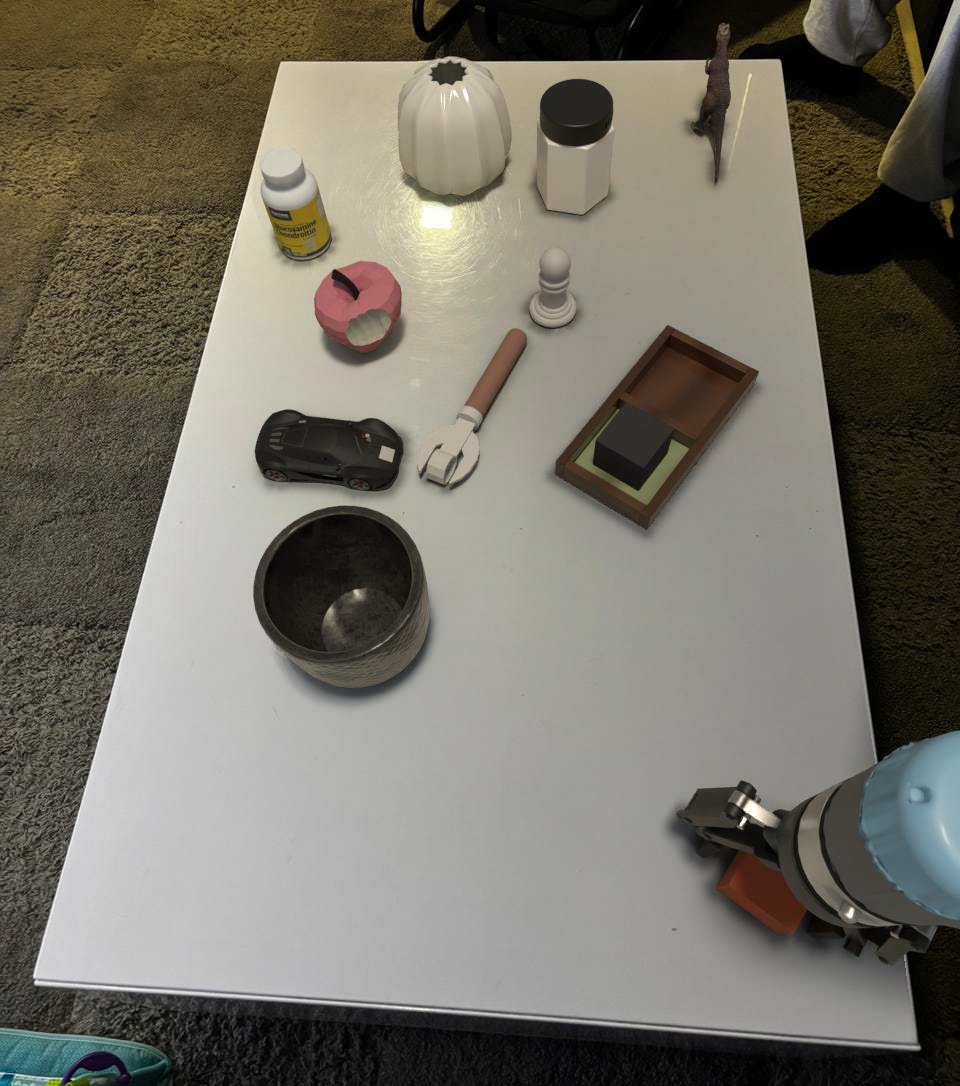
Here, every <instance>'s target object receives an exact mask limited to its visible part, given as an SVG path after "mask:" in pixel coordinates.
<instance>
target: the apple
mask: <svg viewBox="0 0 960 1086" xmlns="http://www.w3.org/2000/svg"><path fill="white" fill-rule="evenodd" d="M402 293H403V292H402V287H401V285H400V283H399V282H398V280H397V279H396V278H395V276H394V275H393V273H392V272H391V270H389V268H388V267H387V266H384V265H383V264H381V263H379V262H376V261H370V260H369V261H368V260H358V261H356V262H354V263H350V264H348V265H345V266H342V267H339V268H338V267H337V268H333V269H332V270H331V271H330V272H329V273H328V274H327V275H326V276H325V277H324V278H323V279H322V280H321V282H320V284H319V286H318V287H317V288H316V291H315V293H314V297H313V303H314V306H313V307H314V316H315V319H316V321H317V323H318V325H319V326H320V327H321V329H322V330H323V332H324V333H325V334H326V335H327V336H328V337H329V338H330V339H332V340H334V341H336V342H338V343H341V344H343V345H344V346H346V347H347V348H349V349H352V350H354V351H356V352H358V353H360V354H364V353H368V352H373V351H376V350H377V349H378V347H379V346H380V345H381V343H383V342H384V341H385V340H386V339H387V338H388V336H389V334H390V332H391V331H392V329H393V327H394V326H395V325H396V323H397V321H398V320H399V317H400V316H401V314H402V305H403V304H402V301H403V300H402V299H403V298H402V297H403V296H402V295H403V294H402Z"/></svg>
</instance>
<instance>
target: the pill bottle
mask: <svg viewBox="0 0 960 1086" xmlns="http://www.w3.org/2000/svg"><path fill="white" fill-rule="evenodd" d="M259 169H260V172H261V174H262V178H263V179H262V181H261V184H260V189H259V190H260V195H261V199H262V202H263V205H264V208H265V210H266V213H267V216H268V218H269V222H270V225H271V227H272V229H273V234H274V236H275V239H276V241H277V243H278V246H279V248H280V250H281V251H282V253H284V255H286V256H288V257H289V258H291V259H295V260H299V261H300V260H303V261H305V260H310V259H314V258H316V257H318V256H320V255H322V254H323V253H324V252H325V251H326V250H327V249H328V247H329V246H330V244H331V241H332V232H331V228H330V224H329V219H328V217H327V214H326V213H327V212H326V209H325V206H324V203H323V199H322V195H321V191H320V188H319V185H318V181H317V179H316V177H315V175H314V173H312V172H311V171H310V170H309V169H308V168H306V167H305V164H304V161H303V157H302V155H301V153H300V152H299V151H298V150H296V149H295V148H292V147H286V146H285V147H283V146H282V147H281V146H280V147H276V148H273V149H271V150H269V151H267V152H266V153H265V154H264V155H263V156H262V157H261V159H260V162H259Z"/></svg>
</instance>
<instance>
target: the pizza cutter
mask: <svg viewBox="0 0 960 1086" xmlns="http://www.w3.org/2000/svg"><path fill="white" fill-rule="evenodd" d="M527 341H528V336H527V334H526V333H525V332H524V330H522V329H521V328H515V327H514V328H511V329H510V330H509V331H507V333H506V335H505V337H504V338H503V340H502V341H501V343H500V345H499V347H498V348H497V350H496V351H495V354H494V355H493V356H492V359H491V360H490V361H489V363H488V365H487V366H486V368H485V370H484V372H483V373H482V375H481V377H480V378H479V380H478V381H477V383H476V385H475V387H474V388H473V390H472V392H471V393H470V395H469V397H468V398H467V399H466V401H465V403H464V405H463V406H461V408H460V409H459V411H458V412H457V414H456V417H455V419H456V421H455V423H454V424H448V425H443V426H442V427H439V428H437V429H435V430H433V431H432V432H431V433H430V434H429V435H428V436H426V438H425V439H424V440H423V442H422V443H421V446H420V448H419V450H418V454H417V458H416V459H417V461H416V463H417V468H418V472H419V474H421V473H422V471H423V470H424V468H425V467H426V471H425V473H426V479H428V480H431V481H434V482H436V483H438V484H441V485H444V486H447V485H449V486H452V485H454V484H456V483H457V482H459V481H462V480H463V479H465V478H466V476H468V475H469V474H471V471H472V470H473V468H474V467H475V465H476V464H477V463H478V460H479V456H480V452H481V449H480V448H481V447H480V442H479V438H478V437H477V436H476V434H475V433H474V431H476V430H478V429H479V427H480V425H481V424H482V422H483V418H484V416H485V414H486V413H487V411H488V409H489V407H490V406H491V404H492V402H493V400H494V399H495V397H496V395H497V394H498V392H499V391H500V389H501V387H502V385H503V383H504V382H505V380H506V378H507V377H508V375H509V373H510V372H511V371H512V369H513V366H514V365H515V363H516V361H517V360H518V358H519V356H520V355H521V352H523V349H524V348H525V346H526V344H527ZM440 446H441V447H440ZM438 447H440V448H438ZM461 452H462V456H463V457H462V459H461V461H460V463H459V464H458V457H459V454H460V453H461ZM457 465H458V466H457Z"/></svg>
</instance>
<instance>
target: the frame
mask: <svg viewBox="0 0 960 1086" xmlns="http://www.w3.org/2000/svg"><path fill="white" fill-rule="evenodd" d="M759 374H760V370H758V369H756V368H753V367H751V366H749V365H747V364H745V363H743V362H741V361H740V360H737V359H736V358H734V357H732V356H730V355H727V354H726V353H724V352H722V351H720V350H718V349H716V348H714V347H712V346H710V345H708V344H706V343H704V342H702V341H701V340H698V339H696V338H694V337H693V336H691V335H689V334H686V333H685V332H683V331H681V330H679V329H676V328H675V327H673V326H671V325H669V324H667V325H665V326H664V328H663V329H662V331H661V332H660V333H659V334H658V336H657V337H656V338H655V339H654V341H653V342H652V343H651V344H650V345H649V347H648V348H647V349H646V350H645V351H644V352H643V354H642V355H641V356H640V358H638V360H637V361H636V362H635V364H634V365H633V366H632V367H631V369H630V370H629V371H628V372H627V373H626V375H625V376H624V377H623V378H622V379H621V380H620V382H619V383H618V384H617V385H616V387H615V388H614V389H613V390H612V392H610V394H609V396H608V397H607V398H606V399H605V401H604V402H602V404H601V405H600V406H599V407H598V409H597V410H596V411H595V413H594V414H593V415H592V416H591V417H590V418H589V419H588V421H587V422H586V423H585V425H584V426H583V427H582V429H581V430H580V431H579V432H578V433H577V435H576V436H575V437H574V438H573V440H571V442H570V443H569V444H568V446H567V447H566V448H565V449H564V450H563V452H562V453H561V454H560V455H559V456H558V457H557V459H556V460H555V471H554V475H555V476H557V477H559V478H560V479H562V480H564V481H565V482H567V483H569V484H570V485H571V486H574V487H575V488H576V489H578V490H580V491H582V492H583V493H585V494H586V495H589V497H592V498H593V499H595V500H597V501H598V502H600V503H601V504H603V505H604V506H607V507H608V508H610V509H611V510H613V511H615V512H617V513H618V514H620V515H622V516H623V517H625V518H627V519H628V520H630V521H631V522H633V523H634V524H636V525H638V526H640V527H641V528H643V529H645V530H646V531H648V529H649V528H650V527H651V526H652V524H653V523H654V522H655V520H656V518H657V517H658V516H659V515H660V513H661V512H662V511H663V509H664V508H665V507H666V505H667V504H668V502H669V501H670V500H671V498H672V497H673V496H674V494H675V493H676V492H677V490H678V489H679V488H680V486H681V485H682V484H683V482H684V481H685V480H686V478H687V477H688V475H689V474H690V473H691V471H693V469H694V467H695V466H696V465H697V463H698V462H699V461H700V460H701V458H702V457H703V455H704V454H705V452H706V451H707V450H708V449H709V447H710V446H711V444H712V443H713V442H714V441H715V439H716V438H717V437H718V435H719V434H720V432H721V431H722V430H723V428H724V427H725V426H726V424H727V423H728V421H729V420H730V419H731V418H732V417H733V415H734V413H735V412H736V411H737V410H738V408H739V407H740V405H741V404H742V403H743V401H744V400H745V398H747V396H748V395H749V393H750V392H751V390H752V389H753V388H754V386H755V384H756V381H757V379H758V376H759ZM626 402H627V403H629V404H631V405H633V406H635V407H636V408H638V409H640V410H642V411H644V412H645V413H647V414H649V415H651V416H653V417H654V418H656V419H658V420H660V421H662V422H663V423H665V424H667V425H669V426H671V427H672V428H674V431H673V435H672V439H671V442H670V446H669V450H668V453H667V455H666V456H665V457H664V459H663V460H662V461H661V463H660V464H659V465H658V466H657V468H656V469H655V470H654V472H653V473H652V474H651V476H650V477H649V478H648V480H647V481H646V482H645V483H644V485H643V486H642V487H641V489H640V490H639V491H637V490H635V489H634V488H632V487H630V486H629V485H627V484H625V483H624V482H622V481H620V480H619V479H617V478H615V477H613V476H612V475H610V474H608V473H607V472H605V471H603V470H602V469H600V468H598V467H597V466H595V465H593V457H594V449H595V441H596V439H597V438H598V436H599V435H600V434H601V433H602V431H603V430H604V429H605V428H606V427H607V425H608V424H609V423H610V422H611V420H612V419H613V418H614V417H615V415H616V414H617V413H618V412H619V410H620V409H621V408H622V407H623V405H624V404H625V403H626Z"/></svg>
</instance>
